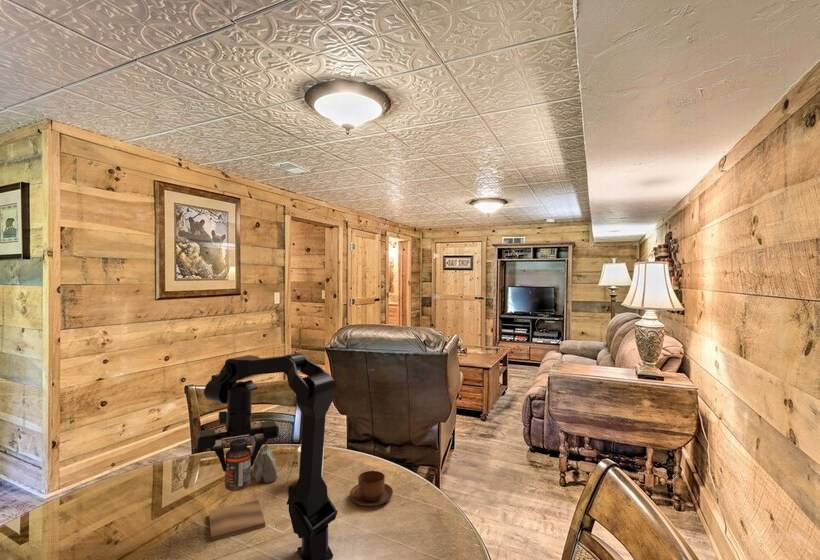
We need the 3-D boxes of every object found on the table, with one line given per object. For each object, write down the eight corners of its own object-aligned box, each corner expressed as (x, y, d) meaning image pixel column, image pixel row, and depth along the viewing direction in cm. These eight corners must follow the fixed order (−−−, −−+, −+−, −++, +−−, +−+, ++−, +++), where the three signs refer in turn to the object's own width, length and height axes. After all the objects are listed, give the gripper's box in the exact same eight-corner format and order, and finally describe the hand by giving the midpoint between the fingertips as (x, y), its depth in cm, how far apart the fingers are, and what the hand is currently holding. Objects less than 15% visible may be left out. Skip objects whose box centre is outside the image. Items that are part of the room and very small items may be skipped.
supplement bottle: (219, 488, 101) (220, 443, 101) (239, 478, 106) (240, 435, 106) (235, 494, 98) (236, 448, 98) (255, 484, 103) (256, 439, 103)
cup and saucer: (382, 514, 106) (382, 490, 106) (342, 506, 110) (342, 483, 110) (398, 492, 117) (398, 470, 117) (361, 485, 121) (361, 464, 121)
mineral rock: (262, 464, 135) (263, 433, 135) (292, 466, 133) (293, 436, 133) (240, 482, 122) (240, 449, 122) (273, 485, 120) (273, 451, 120)
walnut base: (265, 526, 100) (265, 522, 100) (211, 541, 94) (211, 536, 94) (258, 503, 110) (258, 499, 110) (209, 515, 104) (209, 511, 104)
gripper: (272, 394, 114) (270, 449, 113) (197, 402, 105) (195, 462, 105) (279, 405, 104) (278, 465, 104) (197, 415, 95) (196, 481, 95)
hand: (238, 468), depth 102 cm, fingers closed on supplement bottle, 6 cm apart
